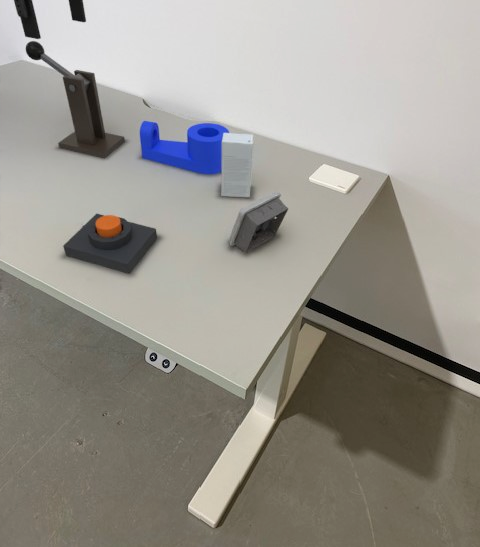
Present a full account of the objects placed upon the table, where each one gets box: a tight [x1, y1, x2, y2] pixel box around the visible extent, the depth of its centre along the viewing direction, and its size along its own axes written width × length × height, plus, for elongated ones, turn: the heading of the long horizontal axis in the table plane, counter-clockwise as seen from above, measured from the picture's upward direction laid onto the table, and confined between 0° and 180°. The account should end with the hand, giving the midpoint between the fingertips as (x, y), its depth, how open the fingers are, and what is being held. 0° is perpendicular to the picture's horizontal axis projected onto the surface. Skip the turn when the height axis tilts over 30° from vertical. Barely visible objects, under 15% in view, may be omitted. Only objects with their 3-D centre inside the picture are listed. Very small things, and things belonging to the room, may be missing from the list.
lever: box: [25, 40, 90, 91], centre depth 89 cm, size 14×4×4 cm, turn 71°
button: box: [96, 214, 122, 237], centre depth 70 cm, size 4×4×2 cm
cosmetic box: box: [220, 132, 254, 199], centre depth 84 cm, size 6×4×12 cm
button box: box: [62, 213, 158, 274], centre depth 72 cm, size 12×10×4 cm
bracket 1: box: [57, 69, 126, 159], centre depth 94 cm, size 12×9×16 cm
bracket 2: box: [139, 120, 230, 175], centre depth 94 cm, size 20×9×8 cm, turn 76°
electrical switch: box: [228, 190, 289, 254], centre depth 73 cm, size 9×5×9 cm, turn 133°
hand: (57, 29), depth 79 cm, fingers open, 13 cm apart
